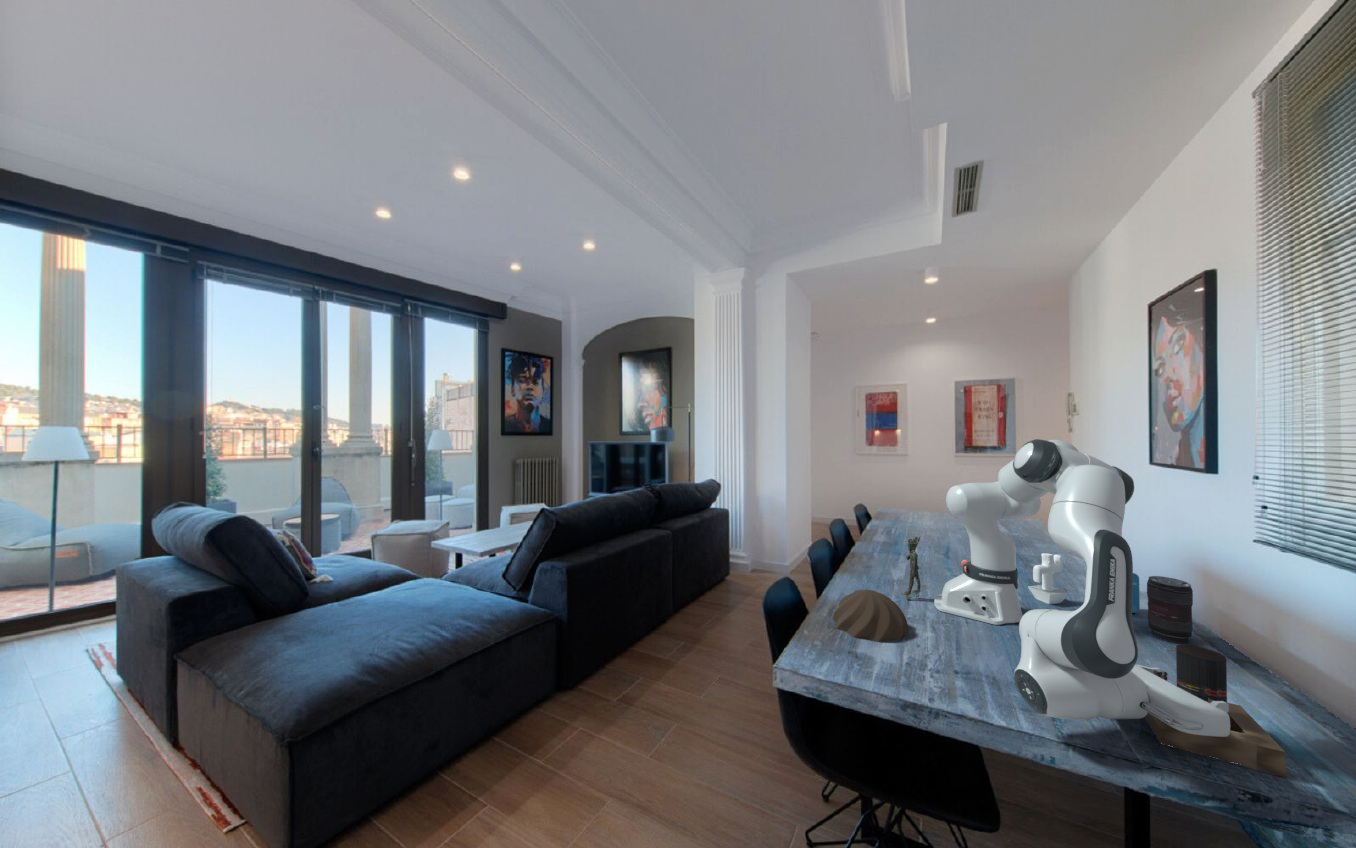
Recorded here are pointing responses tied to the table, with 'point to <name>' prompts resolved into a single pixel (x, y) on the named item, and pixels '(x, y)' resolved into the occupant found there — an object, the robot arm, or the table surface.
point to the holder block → (1229, 742)
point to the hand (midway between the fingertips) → (1191, 689)
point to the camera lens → (1170, 609)
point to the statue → (913, 567)
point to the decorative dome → (870, 617)
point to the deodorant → (1201, 672)
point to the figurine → (1047, 580)
